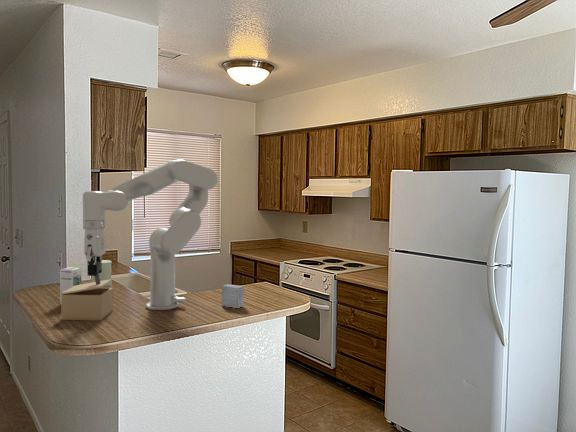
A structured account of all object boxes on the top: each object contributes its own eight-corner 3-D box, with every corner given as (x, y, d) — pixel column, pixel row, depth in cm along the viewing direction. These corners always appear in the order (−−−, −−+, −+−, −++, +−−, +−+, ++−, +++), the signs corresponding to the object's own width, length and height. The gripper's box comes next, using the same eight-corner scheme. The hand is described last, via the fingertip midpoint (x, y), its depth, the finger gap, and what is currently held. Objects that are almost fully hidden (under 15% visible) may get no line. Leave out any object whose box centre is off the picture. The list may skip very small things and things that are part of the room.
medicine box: (243, 307, 194) (244, 286, 194) (238, 309, 190) (238, 288, 190) (227, 304, 198) (227, 284, 197) (221, 306, 194) (221, 285, 193)
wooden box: (112, 310, 183) (112, 287, 183) (101, 320, 170) (101, 295, 170) (75, 310, 182) (75, 287, 182) (61, 319, 169) (61, 294, 169)
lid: (112, 280, 182) (107, 257, 182) (101, 287, 169) (96, 262, 169) (75, 287, 182) (70, 263, 181) (61, 294, 169) (56, 269, 168)
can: (87, 286, 225) (87, 261, 224) (98, 282, 234) (98, 258, 233) (105, 287, 223) (105, 262, 222) (115, 284, 232) (115, 259, 231)
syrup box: (72, 306, 188) (72, 269, 188) (59, 304, 190) (59, 268, 189) (81, 302, 194) (81, 267, 193) (69, 301, 195) (69, 266, 194)
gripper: (97, 227, 166) (97, 278, 167) (111, 223, 183) (111, 270, 184) (74, 226, 166) (75, 278, 167) (91, 222, 182) (92, 270, 184)
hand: (94, 273), depth 175 cm, fingers closed on lid, 4 cm apart
